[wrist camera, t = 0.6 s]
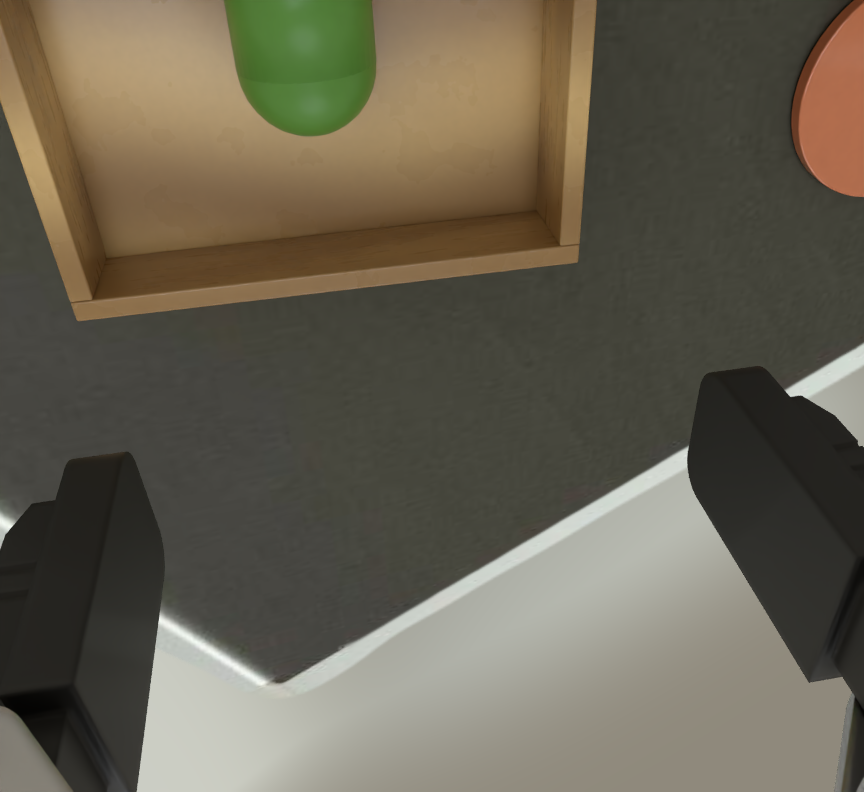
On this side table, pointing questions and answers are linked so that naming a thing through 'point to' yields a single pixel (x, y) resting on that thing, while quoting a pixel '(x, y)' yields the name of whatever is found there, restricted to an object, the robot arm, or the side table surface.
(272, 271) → the wooden tray
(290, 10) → the cucumber
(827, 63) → the plate
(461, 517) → the side table surface
